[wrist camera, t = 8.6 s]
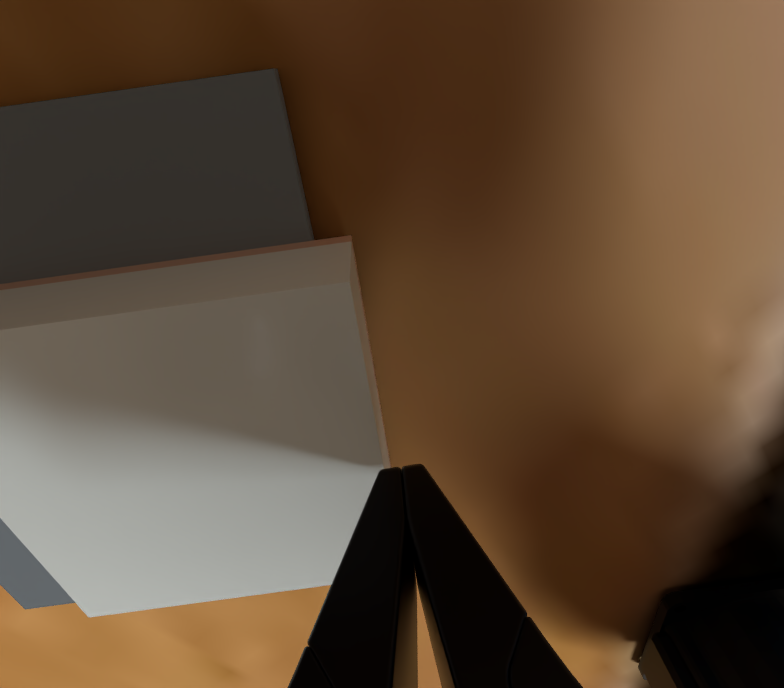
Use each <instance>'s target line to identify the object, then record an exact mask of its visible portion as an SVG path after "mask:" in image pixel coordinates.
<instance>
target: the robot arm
mask: <svg viewBox="0 0 784 688" xmlns="http://www.w3.org/2000/svg"><path fill="white" fill-rule="evenodd" d="M415 573H416V575H415ZM416 579H417V585H418V589H419V594H420V599H421V603H422V607H423V611H424V615H425V619H426V623H427V628H428V632H429V636H430V640H431V644H432V648H433V652H434V656H435V661H436V665H437V669H438V673H439V677H440V681H441V685H442V688H583V687H582V686H581V684H580V683H579V682H578V681H577V680H576V678H575V677H574V676H573V675H572V673H571V672H570V671H569V670H568V668H567V667H566V665H565V664H564V663H563V661H562V660H561V659H560V657H559V656H558V655H557V653H556V652H555V651H554V649H553V648H552V647H551V645H550V644H549V643H548V641H547V640H546V639H545V637H544V636H543V634H542V633H541V631H540V630H539V629H538V627H537V626H536V624H535V623H534V621H533V620H532V619H531V617H527V612H526V610H525V609H524V608H523V606H522V605H521V603H520V602H519V601H518V599H517V598H516V596H515V595H514V593H513V592H512V591H511V589H510V588H509V586H508V585H507V583H506V582H505V581H504V579H503V578H502V576H501V575H500V573H499V572H498V571H497V569H496V568H495V566H494V565H493V563H492V562H491V561H490V559H489V558H488V556H487V555H486V553H485V552H484V551H483V549H482V548H481V546H480V545H479V543H478V542H477V541H476V539H475V538H474V536H473V535H472V534H471V532H470V531H469V529H468V528H467V526H466V525H465V524H464V522H463V521H462V519H461V518H460V516H459V515H458V514H457V512H456V511H455V509H454V508H453V506H452V505H451V504H450V502H449V501H448V499H447V498H446V496H445V495H444V494H443V492H442V491H441V489H440V488H439V486H438V485H437V484H436V482H435V481H434V479H433V478H432V476H431V475H430V474H429V472H428V471H427V469H426V468H425V467H424V466H423V465H422V464H415V465H407V466H404V467H402V471H401V469H400V468H399V467H393V468H386V469H381V470H380V471H379V473H378V475H377V477H376V479H375V482H374V484H373V487H372V489H371V491H370V494H369V496H368V498H367V501H366V503H365V506H364V508H363V510H362V513H361V515H360V518H359V520H358V522H357V525H356V527H355V529H354V532H353V534H352V537H351V539H350V541H349V544H348V546H347V549H346V551H345V553H344V556H343V558H342V561H341V563H340V565H339V568H338V570H337V572H336V575H335V577H334V580H333V582H332V584H331V587H330V589H329V592H328V594H327V596H326V599H325V601H324V604H323V606H322V608H321V611H320V613H319V615H318V618H317V620H316V623H315V625H314V627H313V630H312V632H311V635H310V637H309V639H308V646H309V647H308V646H307V647H305V648H304V651H303V653H302V655H301V658H300V660H299V663H298V665H297V667H296V670H295V672H294V674H293V677H292V679H291V681H290V683H289V686H288V688H418V666H417V588H416ZM638 669H639V671H640V673H641V675H642V677H643V679H645V680H647V681H648V683H649V685H650V687H651V688H784V577H783V578H775V579H768V580H760V581H753V582H745V583H738V584H730V585H723V586H715V587H708V588H700V589H693V590H685V591H678V592H673V593H670V594H668V595H666V596H665V597H663V599H662V600H661V603H660V606H659V609H658V611H657V614H656V617H655V620H654V623H653V626H652V628H651V631H650V634H649V637H648V640H647V643H646V646H645V648H644V651H643V654H642V657H641V660H640V663H639V665H638Z"/></svg>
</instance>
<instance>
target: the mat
mask: <svg viewBox="0 0 784 688" xmlns="http://www.w3.org/2000/svg"><path fill="white" fill-rule="evenodd" d="M313 240H314V236H313V231H312V227H311V222H310V217H309V213H308V208H307V203H306V199H305V194H304V190H303V185H302V180H301V176H300V171H299V166H298V162H297V157H296V153H295V148H294V143H293V139H292V134H291V129H290V125H289V120H288V116H287V111H286V106H285V102H284V97H283V92H282V88H281V83H280V79H279V74H278V69H267V70H260V71H253V72H245V73H238V74H231V75H224V76H217V77H210V78H203V79H196V80H189V81H182V82H175V83H167V84H160V85H153V86H146V87H139V88H132V89H125V90H118V91H111V92H104V93H97V94H89V95H82V96H75V97H68V98H61V99H54V100H47V101H40V102H33V103H26V104H19V105H11V106H4V107H0V284H5V283H12V282H19V281H26V280H34V279H41V278H48V277H55V276H62V275H69V274H77V273H84V272H91V271H98V270H105V269H112V268H120V267H127V266H134V265H141V264H148V263H155V262H163V261H170V260H177V259H184V258H191V257H198V256H206V255H213V254H220V253H227V252H234V251H242V250H249V249H256V248H263V247H270V246H277V245H285V244H292V243H299V242H306V241H313ZM0 585H1V586H2V587H3V588H4V589H5V590H6V591H7V592H8V593H9V594H10V595H11V596H12V597H13V598H14V599H15V600H16V601H17V602H18V603H19V604H20V605H21V606H22V607H23V608H24V609H31V608H39V607H46V606H54V605H61V604H69V603H75V601H74V600H73V599H72V598H71V597H70V596H69V595H68V594H67V592H66V591H65V590H64V589H63V588H62V587H61V586H60V585H59V583H58V582H57V581H56V580H55V579H54V578H53V577H52V576H51V575H50V573H49V572H48V571H47V570H46V569H45V568H44V567H43V566H42V564H41V563H40V562H39V561H38V560H37V559H36V558H35V557H34V555H33V554H32V553H31V552H30V551H29V550H28V549H27V548H26V546H25V545H24V544H23V543H22V542H21V541H20V540H19V539H18V537H17V536H16V535H15V534H14V533H13V532H12V531H11V530H10V528H9V527H8V526H7V525H6V524H5V523H4V522H3V521H2V519H1V518H0Z"/></svg>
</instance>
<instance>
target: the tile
mask: <svg viewBox="0 0 784 688" xmlns="http://www.w3.org/2000/svg"><path fill="white" fill-rule="evenodd" d="M386 468H391V463H390V457H389V451H388V445H387V439H386V433H385V428H384V422H383V416H382V410H381V404H380V398H379V393H378V387H377V381H376V375H375V369H374V363H373V358H372V352H371V346H370V340H369V334H368V328H367V323H366V317H365V311H364V305H363V299H362V293H361V288H360V282H359V276H358V270H357V264H356V258H355V253H354V247H353V241H352V235H349V236H342V237H335V238H328V239H320V240H313V241H306V242H299V243H292V244H285V245H277V246H270V247H263V248H256V249H249V250H242V251H234V252H227V253H220V254H213V255H206V256H198V257H191V258H184V259H177V260H170V261H163V262H155V263H148V264H141V265H134V266H127V267H120V268H112V269H105V270H98V271H91V272H84V273H77V274H69V275H62V276H55V277H48V278H41V279H34V280H26V281H19V282H12V283H5V284H0V518H1V519H2V521H3V522H4V523H5V524H6V525H7V526H8V527H9V528H10V530H11V531H12V532H13V533H14V534H15V535H16V536H17V537H18V539H19V540H20V541H21V542H22V543H23V544H24V545H25V546H26V548H27V549H28V550H29V551H30V552H31V553H32V554H33V555H34V557H35V558H36V559H37V560H38V561H39V562H40V563H41V564H42V566H43V567H44V568H45V569H46V570H47V571H48V572H49V573H50V575H51V576H52V577H53V578H54V579H55V580H56V581H57V582H58V583H59V585H60V586H61V587H62V588H63V589H64V590H65V591H66V592H67V594H68V595H69V596H70V597H71V598H72V599H73V600H74V601H75V603H76V604H77V605H78V606H79V607H80V608H81V609H82V610H83V612H84V613H85V614H86V615H87V616H88V617H96V616H103V615H111V614H118V613H125V612H133V611H140V610H148V609H155V608H163V607H170V606H177V605H185V604H192V603H200V602H207V601H215V600H222V599H229V598H237V597H244V596H252V595H259V594H267V593H274V592H281V591H289V590H296V589H304V588H311V587H318V586H326V585H331V584H332V582H333V580H334V577H335V575H336V572H337V570H338V568H339V565H340V563H341V561H342V558H343V556H344V553H345V551H346V549H347V546H348V544H349V541H350V539H351V537H352V534H353V532H354V529H355V527H356V525H357V522H358V520H359V518H360V515H361V513H362V510H363V508H364V506H365V503H366V501H367V498H368V496H369V494H370V491H371V489H372V487H373V484H374V482H375V479H376V477H377V475H378V473H379V471H380V470H381V469H386Z"/></svg>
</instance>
